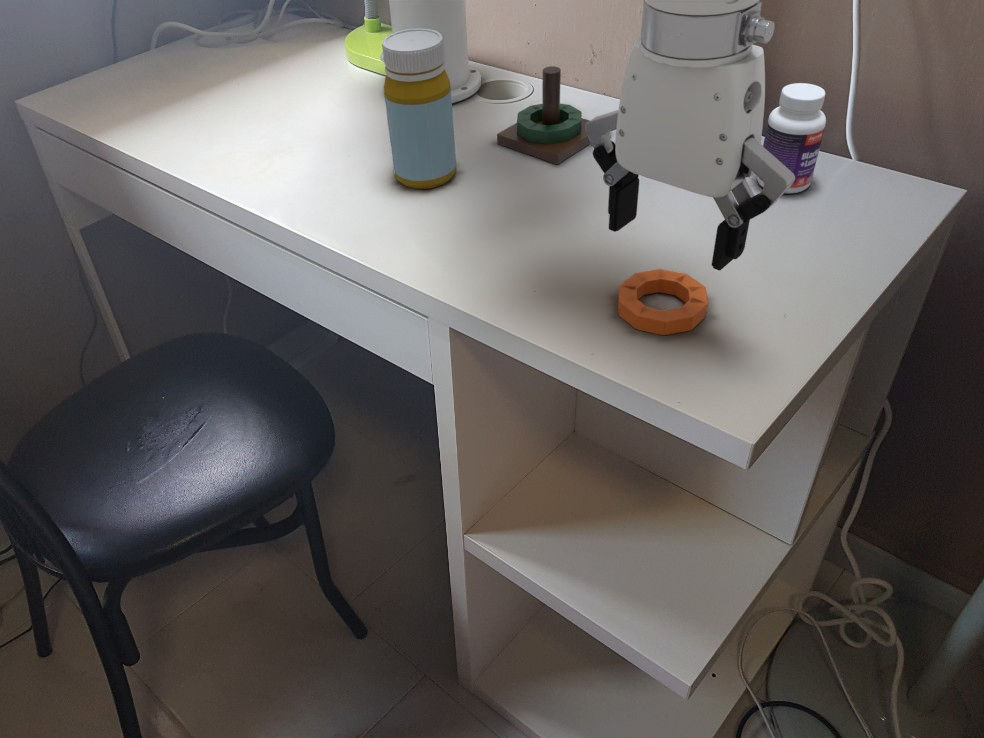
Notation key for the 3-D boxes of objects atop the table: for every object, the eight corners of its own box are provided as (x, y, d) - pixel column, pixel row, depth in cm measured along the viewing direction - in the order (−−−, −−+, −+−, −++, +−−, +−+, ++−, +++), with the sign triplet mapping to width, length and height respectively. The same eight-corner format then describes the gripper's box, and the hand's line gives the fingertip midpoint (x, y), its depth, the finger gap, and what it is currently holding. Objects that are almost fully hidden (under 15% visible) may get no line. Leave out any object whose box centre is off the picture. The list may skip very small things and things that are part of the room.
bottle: (408, 197, 91) (392, 58, 81) (386, 170, 96) (368, 36, 86) (466, 180, 93) (458, 42, 83) (441, 155, 98) (430, 21, 88)
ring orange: (600, 313, 74) (601, 299, 73) (649, 273, 78) (651, 259, 77) (673, 346, 70) (675, 332, 69) (721, 302, 74) (724, 288, 73)
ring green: (503, 133, 98) (503, 120, 97) (545, 109, 102) (545, 97, 101) (553, 149, 94) (553, 137, 93) (594, 124, 98) (595, 112, 97)
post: (496, 143, 99) (494, 74, 93) (544, 115, 103) (545, 48, 98) (557, 164, 94) (558, 93, 89) (604, 134, 99) (609, 64, 93)
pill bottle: (802, 199, 85) (825, 106, 78) (749, 188, 87) (766, 97, 81) (816, 175, 88) (839, 84, 82) (764, 165, 91) (783, 76, 84)
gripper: (846, 32, 55) (793, 256, 66) (623, -9, 64) (611, 194, 76) (791, 70, 51) (745, 301, 62) (562, 21, 60) (559, 229, 72)
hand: (671, 242), depth 69 cm, fingers open, 9 cm apart
